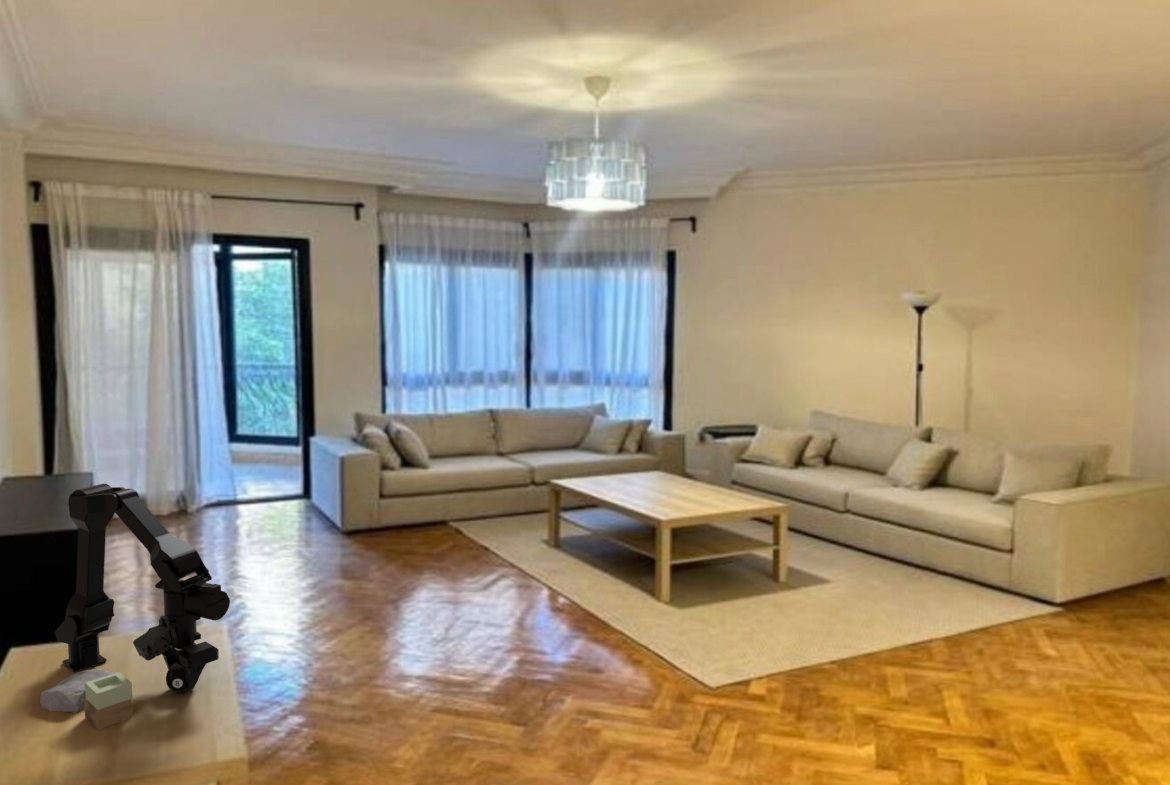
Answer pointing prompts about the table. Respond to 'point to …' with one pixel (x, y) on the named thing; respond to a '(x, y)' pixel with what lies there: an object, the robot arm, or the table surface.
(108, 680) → the tower cap
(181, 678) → the billiard ball
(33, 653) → the table surface
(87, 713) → the tower base
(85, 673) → the stone block
